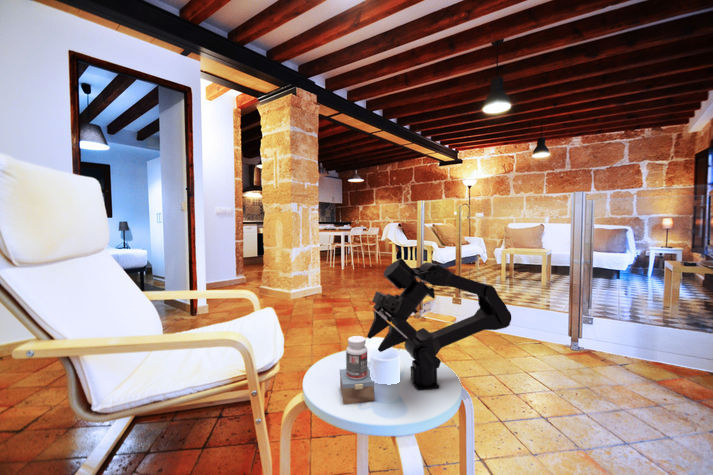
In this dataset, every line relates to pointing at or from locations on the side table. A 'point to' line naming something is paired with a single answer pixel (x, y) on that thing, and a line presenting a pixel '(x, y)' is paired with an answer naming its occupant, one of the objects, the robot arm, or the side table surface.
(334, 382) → the side table surface
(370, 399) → the walnut box
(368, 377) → the box lid
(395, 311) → the robot arm
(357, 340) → the pill bottle
